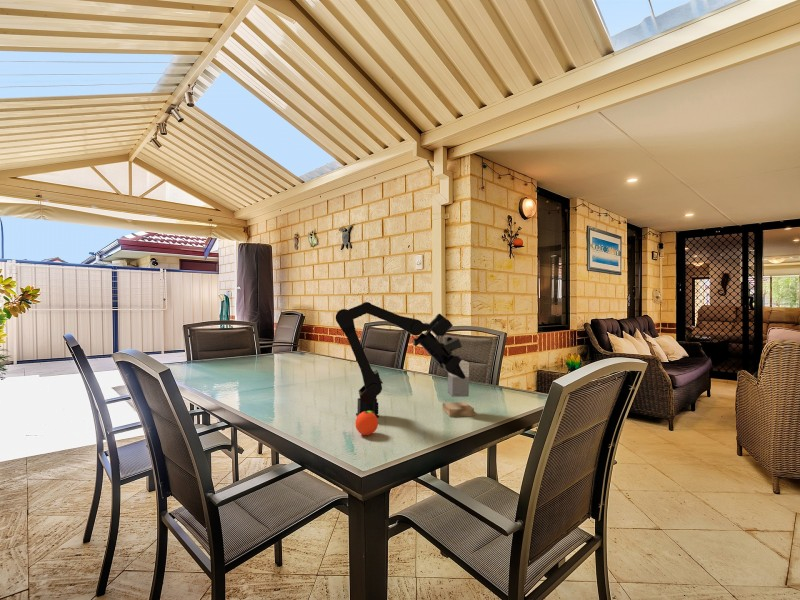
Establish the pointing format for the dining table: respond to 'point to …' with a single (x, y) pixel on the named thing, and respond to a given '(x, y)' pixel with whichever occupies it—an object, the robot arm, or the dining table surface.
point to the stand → (458, 409)
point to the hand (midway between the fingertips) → (461, 376)
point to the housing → (459, 382)
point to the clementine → (366, 423)
